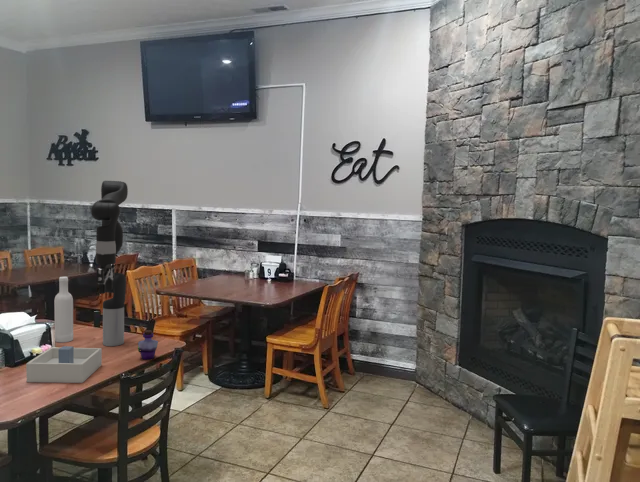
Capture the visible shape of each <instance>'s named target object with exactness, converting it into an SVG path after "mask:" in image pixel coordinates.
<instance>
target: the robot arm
mask: <svg viewBox="0 0 640 482" xmlns="http://www.w3.org/2000/svg"><path fill="white" fill-rule="evenodd" d="M128 189H129V188H128V184H127V183H126V182H125V181H119V180H103V181H102V183H101V188H100V192H101V193H100V194H101V196H100V197H101V199H100V200H97V201H95V202H94V203H93V204H92V206H91V209H90V213H91V216H92V217H93V218H94V219H95V220H97V221H101V226H98V227H96V231H95V232H96V233H95V235H96V241H95V242H96V243H95V263H96V264H97V265H99V267H98V268H96V278H95V279H96V284H98V293H99V294H101V295H102V294H106V293H111V294H113V295H112V296H113V297H112V298H109V299H106V300H104V301H102V345H103V346H107V347H117V346H121V345H124V343H125V302H126V289H127V279H126V276H125V274H124V273H121V272H115V264H116V261H117V254H118V253H119V252H120V250H121V248H122V247H123V244H124V243H123V242H124V240H123V239H124V237H123V235H124V229H123V228H122V225H121V224H120V222H119V221H118V219H119V217H120V213H121V208H120V205H121V204H123V202H125V201H126V200H127V198H128V194H129V193H128V192H129V191H128Z"/></svg>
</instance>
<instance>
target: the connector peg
mask: <svg viewBox="0 0 640 482" xmlns="http://www.w3.org/2000/svg"><path fill="white" fill-rule="evenodd" d="M59 348H60V349H59V363H74V348H75V347H74V346H71V345H70V346H67V345H66V346H65V345H63V346H61V347H59Z"/></svg>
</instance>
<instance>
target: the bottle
mask: <svg viewBox="0 0 640 482" xmlns="http://www.w3.org/2000/svg"><path fill="white" fill-rule="evenodd" d="M58 282H59V283H58V284H59V285H58V286H59V287H58V289H59V291H58V293H57V294H56V295H55V297H54V302H53V303H54V305H53V306H54V342H56V343H68V342H72V341H73V340H74V299H73V295H72V294H71V293H70V292H69V277H68V276H59V278H58Z"/></svg>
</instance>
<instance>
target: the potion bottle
mask: <svg viewBox="0 0 640 482" xmlns="http://www.w3.org/2000/svg"><path fill="white" fill-rule="evenodd" d="M153 337H154V333H153V331H152V330H150V329H146V330H144V332H143V333H142V338H144V339H142V340H139V341H138V343H137V350H138V353H140V357H141V359H140V360H144V361H152V360H154V359H155V354H156V351H157V348H158V345H159V344H158V343H159V341H158V340H156V339H153Z"/></svg>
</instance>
